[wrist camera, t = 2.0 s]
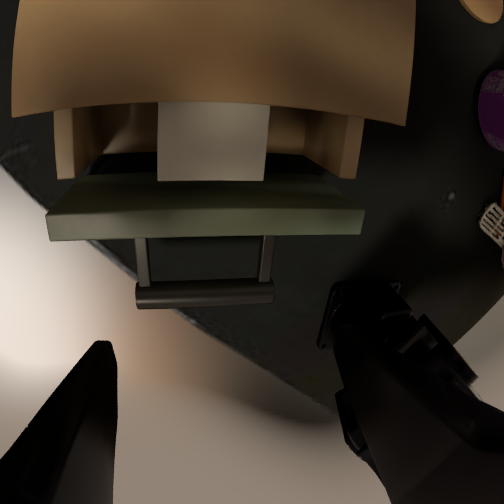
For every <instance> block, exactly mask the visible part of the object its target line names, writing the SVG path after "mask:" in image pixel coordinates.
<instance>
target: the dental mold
mask: <svg viewBox="0 0 504 504" xmlns="http://www.w3.org/2000/svg"><path fill="white" fill-rule="evenodd" d="M501 261H502V264H503V268H504V249H502V257H501Z"/></svg>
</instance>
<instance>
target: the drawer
mask: <svg viewBox="0 0 504 504" xmlns="http://www.w3.org/2000/svg"><path fill="white" fill-rule="evenodd" d="M158 103H159V102H144V103H125V104H111V105H99V106H89V107H80V108H71V109H63V110H56V111H54V136H55V153H56V167H57V178H58V179H59V180H60V179H71V178H76V177H77V176H78V175H79V174H80V173H81V172H82V171H83V170H84V169H86V168H87V167H88V166H89V165H90V164H91V163H92V162H93V161H94V160H96V159H97V158H98V157H99V156H100V155H101V154H115V153H134V152H157V145H158ZM364 119H365V118H361V117H356V116H350V115H344V114H337V113H331V112H324V111H317V110H309V109H301V108H292V107H282V106H272V105H270V115H269V126H268V136H267V147H266V153H280V154H296V155H304V156H305V157H307V158H309V159H310V160H312V161H314V162H315V163H317V164H319V165H320V166H322V167H323V168H325V169H327V170H328V171H330V172H331V173H333V174H335V175H336V176H338V177H339V178H348V179H355V177H356V171H357V165H358V159H359V153H360V147H361V140H362V133H363V126H364ZM364 214H365V210H364V209H363V208H361V207H360V206H359V205H357V204H356V203H355V202H353V201H352V200H351V199H349V198H348V197H346V196H345V195H344V194H342V193H341V192H340V191H338V190H337V189H336V188H334V187H333V186H331V185H330V184H329V183H327V182H326V181H324V180H323V179H321V178H320V177H319V176H317V175H312V174H293V173H269V172H264V180H263V181H230V180H196V181H158V172H144V173H121V174H103V175H88V176H82V177H81V178H80V179H79V180H78V181H77V182H76V183H75V184H74V185H73V186H72V187H71V188H70V189H69V190H68V191H67V192H66V193H65V194H64V195H63V196H62V197H61V199H60V200H59V201H58V202H57V203H56V204H55V205H54V206H53V207H52V208H51V209H50V210H49V211H48V213H47V214H46V216H45V217H46V223H47V229H48V234H49V239H50V241H73V240H74V241H75V240H101V239H130V238H134V244H135V255H136V264H137V273H138V281H139V282H137V283H136V288H135V296H136V305H137V308H138V309H171V308H197V307H218V306H236V305H252V304H267V303H272V302H273V300H274V293H275V292H274V283H273V280H272V278H271V269H272V261H273V253H274V245H275V236H276V235H319V234H360V232H361V227H362V223H363V218H364ZM249 235H261V238H260V248H259V258H258V268H257V278H236V279H212V280H185V281H154V282H151V271H150V259H149V247H148V238H163V237H201V236H249Z"/></svg>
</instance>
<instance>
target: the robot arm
mask: <svg viewBox="0 0 504 504" xmlns="http://www.w3.org/2000/svg"><path fill="white" fill-rule="evenodd" d="M399 289H400V283H399V282H398V281H397V280H388V281H386V280H382V281H371V282H361V283H353V284H341V285H335V286H334V287H333V288H332V289H331V292H330V296H329V300H328V304H327V308H326V312H325V316H324V319H323V323H322V327H321V330H320V334H319V338H318V341H317V346H318V348H319V349H320V350H326V349H333V351H334V355H335V358H336V362H337V365H338V368H339V372H340V375H341V378H342V382H343V385H344V389H342V390H339V391H338V392H337V393H336V394H335V398H336V402H337V408H338V412H339V416H340V421H341V425H342V429H343V434H344V439H345V442H346V444H347V445H349V448H350V449H351V450H352V451H353V452H354V453H355V454H356V455H357V456H358V457H359V458H360V459H362V460H363V461H365V462H367V463H368V465H369V466H370V467H371V468H372V469H373V471H374V472H375V473H376V475H377V476H378V478H379V479H380V481H381V482H382V484H383V485H384V487H385V489H386V491H387V494H388V496H389V499H390V501H391V504H504V412H503V411H501V410H499V409H497V408H495V407H493V406H491V405H489V404H487V403H485V402H483V401H482V399H481V397H480V395H479V394H478V393H477V391H476V390H475V389H474V388H473V386H471V384H472V383H474V382H475V381H476V379H478V378H479V377H478V376H477V375H476V373H475V372H474V371H473V370H472V368H471V367H470V366H469V365H468V363H467V362H466V361H465V360H464V358H463V357H462V356H461V355H460V353H459V352H458V351H457V350H456V349H455V348H454V346H453V345H452V344H451V343H450V342H449V341H448V339H447V338H446V337H445V336H444V335H443V334H442V333H441V332H440V330H439V329H438V328H437V327H436V326H435V325H434V324H433V323H432V322H431V321H430V320H429V318H428V317H427V316H426V315H425V314H423V315H422V316H421V317H420V318H419V320H418V321H417V320H416V319H415V318H414V317H413V316H412V315H411V314H412V312H413V311H412V309H411V308H410V307H409V305H408V304H407V303H406V302H405V301H404V300H403V299H402V298H401V297H400V295H399V294H398V292H399ZM337 291H339V292H338V293H336V292H337ZM117 419H118V405H117V361H116V358H115V354H114V350H113V347H112V344H111V342H110V341H99V340H98V341H95V342H94V343H93V345H92V346H91V347H90V348H89V349H88V350H87V352H86V353H85V354H84V355H83V356H82V358H81V359H80V360H79V361H78V362H77V364H76V365H75V366H74V367H73V369H72V370H71V371H70V372H69V373H68V375H67V376H66V377H65V379H63V381H62V382H61V383H60V385H59V386H58V387H57V388H56V389H55V391H54V392H53V393H52V395H51V396H50V397H49V398H48V400H47V401H46V402H45V403H44V405H43V406H42V407H41V408H40V410H39V411H38V412H37V414H36V415H35V416H34V418H33V419H32V420H31V422H30V423H29V424H28V427H26V428H25V429H24V431H23V432H22V433H21V435H20V436H19V437H18V438H17V440H16V441H15V442H14V444H13V445H12V446H11V447H10V449H9V450H8V451H7V452H6V453H5V454H4V456H3V457H2V458H1V459H0V504H113V479H114V459H115V444H116V432H117Z"/></svg>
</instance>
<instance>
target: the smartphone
mask: <svg viewBox="0 0 504 504" xmlns="http://www.w3.org/2000/svg"><path fill="white" fill-rule="evenodd" d="M500 209H501V210H502V211H503V212H504V177H503V186H502V194H501V201H500ZM498 215H501V214H500V213H499V214H498ZM502 220H503V221H504V219H502ZM503 221H502V223H501V225H502V226H503V227H504V224H503ZM497 227H498V228H499V229H500V230H501V231H502V229H501V228H500V227H499V226H497ZM503 230H504V229H503ZM496 232H497V235H498V236H499V235H500V234H499V232H498V231H497V230H496ZM502 232H503V231H502ZM503 237H504V236H503Z"/></svg>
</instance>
